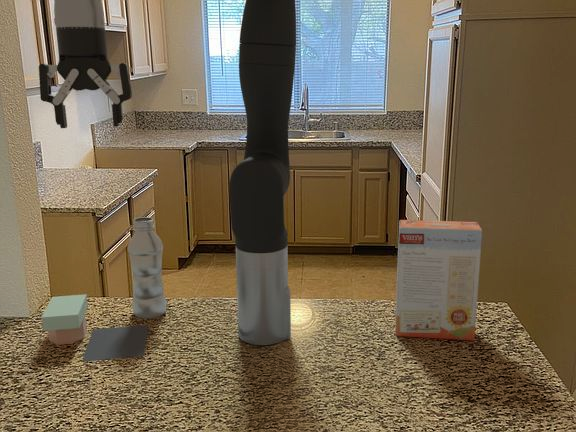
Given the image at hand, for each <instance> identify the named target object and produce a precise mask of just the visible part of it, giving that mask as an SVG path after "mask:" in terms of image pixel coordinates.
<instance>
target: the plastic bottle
mask: <svg viewBox="0 0 576 432" xmlns="http://www.w3.org/2000/svg"><path fill="white" fill-rule="evenodd" d="M132 220H133V221H132V223H133V227H132V228H133V231H134V233H133V235H132V236H131V238H130V240H129V241H128V245H127V251H128V255H129V260H130V264H131V271H132V280H133V283H132V284H133V289H132V290H133V291H132V292H133V293H132V299H131V309H132V311H133V315H135V317H137V318H139V319H148V320H149V319H154V318H155V319H156V318H158V317H161V316H163V315H164V314H165V313H166V310H167V304H168V303H167V297H166V294H165V292H164V290H165V289H164V286H163V285H164V284H163V283H164V282H163V276H162V275H163V273H162V269H163V268H162V266H163V264H162V261H163V252H164V244H163V242H162V239H161V238H160V237H159V235H158V234H157V233H156V232H155V231H154V230H155V223H154V218H153V217H147V216H142V217H137V218H134V219H132Z"/></svg>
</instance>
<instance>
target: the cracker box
mask: <svg viewBox="0 0 576 432" xmlns="http://www.w3.org/2000/svg"><path fill="white" fill-rule="evenodd" d="M482 239H483V229H482V228H481V226H480V225H479V223H478V221H455V220H454V221H451V220H449V221H448V220H420V219H418V220H417V219H415V220H414V219H400V220H399V221H398V240H397V241H398V242H397V243H398V244H397V245H398V247H397V265H396V266H397V267H396V268H397V269H396V292H395V293H396V294H395V295H396V299H395V337H396V336H397V337H407V338H408V337H409V338H410V337H411V338H425V339H443V340H457V341H458V340H459V341H470V342H471V341H475V335H476V334H475V333H476V324H477V323H476V321H477V310H478V309H477V307H478V296H479V295H478V294H479V283H480V281H479V279H480V267H481V254H482V253H481V252H482Z"/></svg>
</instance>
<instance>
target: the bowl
mask: <svg viewBox="0 0 576 432" xmlns="http://www.w3.org/2000/svg"><path fill="white" fill-rule="evenodd" d="M87 332H88V330H87V322H86V315H85V316H84V318H83V321H82V323H81V326H80V328H73V329H60V330H48V331H47V334H48V341H49V342H50V343H53V344H54V345H57V346H58V345H59V346H61V345H68V344H71V345H72V344H74V343H77V342H79V341H82V340H84V339H86V334H87Z"/></svg>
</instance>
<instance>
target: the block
mask: <svg viewBox="0 0 576 432" xmlns="http://www.w3.org/2000/svg"><path fill="white" fill-rule="evenodd" d="M88 308H89V304H88V296H87V294H86V293H85V294H74V295H72V294H71V295H61V296H52V297H51V299H50V301H49V302H48V304H47V306H46V308H45V310H44V311H43V313H42V315H41V317H40V319H41V327H42V332H44V331H45V332H48V330H60V329H73V328H80V326H81V323H82V321H83V318H84V316H85V317H86V313H87V311H88Z"/></svg>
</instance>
